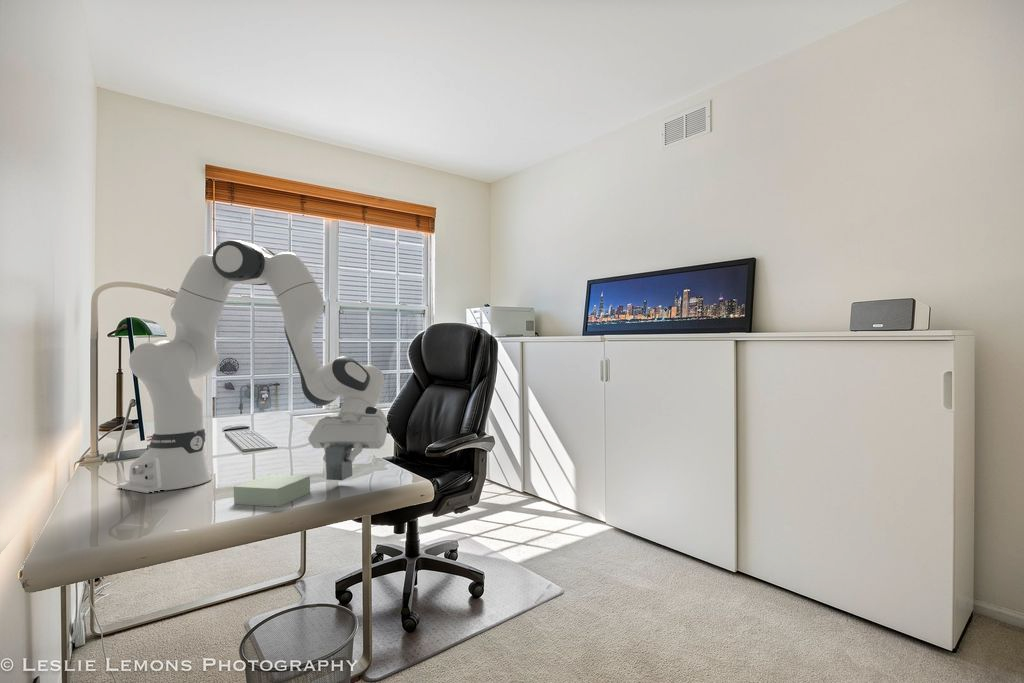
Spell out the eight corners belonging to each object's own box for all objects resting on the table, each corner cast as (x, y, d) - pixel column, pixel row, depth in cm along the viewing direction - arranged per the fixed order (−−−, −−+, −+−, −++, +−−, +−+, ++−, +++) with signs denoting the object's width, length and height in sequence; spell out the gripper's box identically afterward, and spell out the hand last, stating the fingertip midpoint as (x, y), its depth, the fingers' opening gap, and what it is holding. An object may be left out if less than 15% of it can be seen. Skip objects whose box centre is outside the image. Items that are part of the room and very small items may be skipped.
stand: (234, 504, 115) (233, 486, 115) (269, 490, 126) (268, 474, 126) (278, 506, 112) (277, 488, 112) (310, 492, 123) (309, 476, 123)
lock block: (326, 479, 126) (325, 447, 127) (337, 475, 131) (336, 444, 131) (342, 480, 125) (341, 448, 125) (352, 475, 130) (351, 444, 130)
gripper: (316, 409, 137) (295, 453, 127) (386, 409, 133) (370, 454, 124) (325, 423, 141) (305, 466, 132) (393, 423, 138) (379, 468, 128)
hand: (337, 460), depth 127 cm, fingers closed on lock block, 5 cm apart
